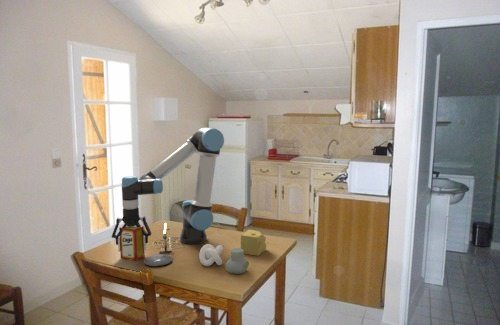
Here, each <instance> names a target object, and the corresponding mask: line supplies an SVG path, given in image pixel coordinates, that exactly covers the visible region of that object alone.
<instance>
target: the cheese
mask: <svg viewBox="0 0 500 325" xmlns="http://www.w3.org/2000/svg"><path fill="white" fill-rule="evenodd" d="M240 249H243V250H244V255H250V256H257V257H258V256H260V255H261V254H262V253H264V252H265V251H266V250H267V243H266V236H265V235H264V233H263V232H261V231H259V230H254V229H247V230H246V231H245V232H244V233H243V234H241V236H240Z"/></svg>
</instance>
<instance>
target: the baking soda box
mask: <svg viewBox="0 0 500 325" xmlns="http://www.w3.org/2000/svg"><path fill="white" fill-rule="evenodd" d="M122 227H123V225H122V226H121V227H118V228H119V231H120V230H121V229H123V232H122V233H121V234H120V236H119V237H120V252H119V253H120V259H122V260H123V259H124V260H127V261H128V260H130V261H133V262H134V261H135V262H136V261H139V260H141V259H142V258H144V257H145V250H144V235H143V233H142V229H143V230H145V226H143V225H141V227H136V225H135V226H126V227H125V228H122ZM141 228H142V229H141ZM119 231H118V232H119Z"/></svg>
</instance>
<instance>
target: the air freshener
mask: <svg viewBox="0 0 500 325" xmlns="http://www.w3.org/2000/svg"><path fill="white" fill-rule="evenodd" d="M249 265H250V264H249V261H248V260H247V258H245V254H244V250H243V249H241V247H240V248H239V247H238V248H236V247H235V248H232V249H231V250H230V258H228V260H227V261H226V263H225V269H226V271H228V272H229V273H231V274H235V275H238V274H243V273H245V272H247V271H248V269H249Z"/></svg>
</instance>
